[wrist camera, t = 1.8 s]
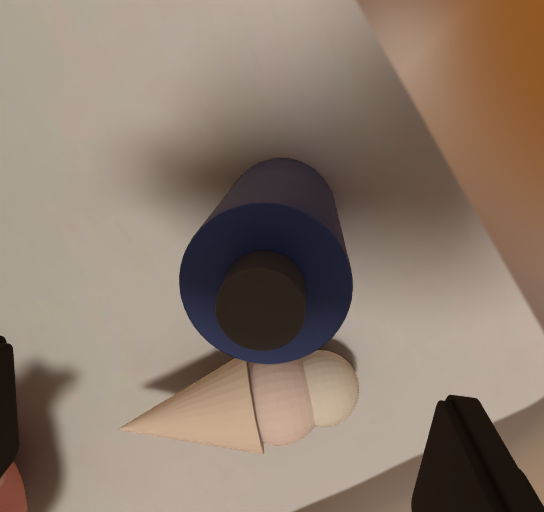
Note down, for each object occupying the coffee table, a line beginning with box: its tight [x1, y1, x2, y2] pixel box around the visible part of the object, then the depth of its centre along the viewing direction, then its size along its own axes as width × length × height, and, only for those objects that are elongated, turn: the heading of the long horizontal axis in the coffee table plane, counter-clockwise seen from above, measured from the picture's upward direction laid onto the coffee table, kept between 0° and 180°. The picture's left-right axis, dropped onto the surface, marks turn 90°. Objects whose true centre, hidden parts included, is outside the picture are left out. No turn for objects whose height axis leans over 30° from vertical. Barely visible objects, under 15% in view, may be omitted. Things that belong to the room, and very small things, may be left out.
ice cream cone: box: [119, 350, 359, 454], centre depth 30 cm, size 6×6×15 cm
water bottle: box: [179, 158, 353, 364], centre depth 23 cm, size 6×6×14 cm
